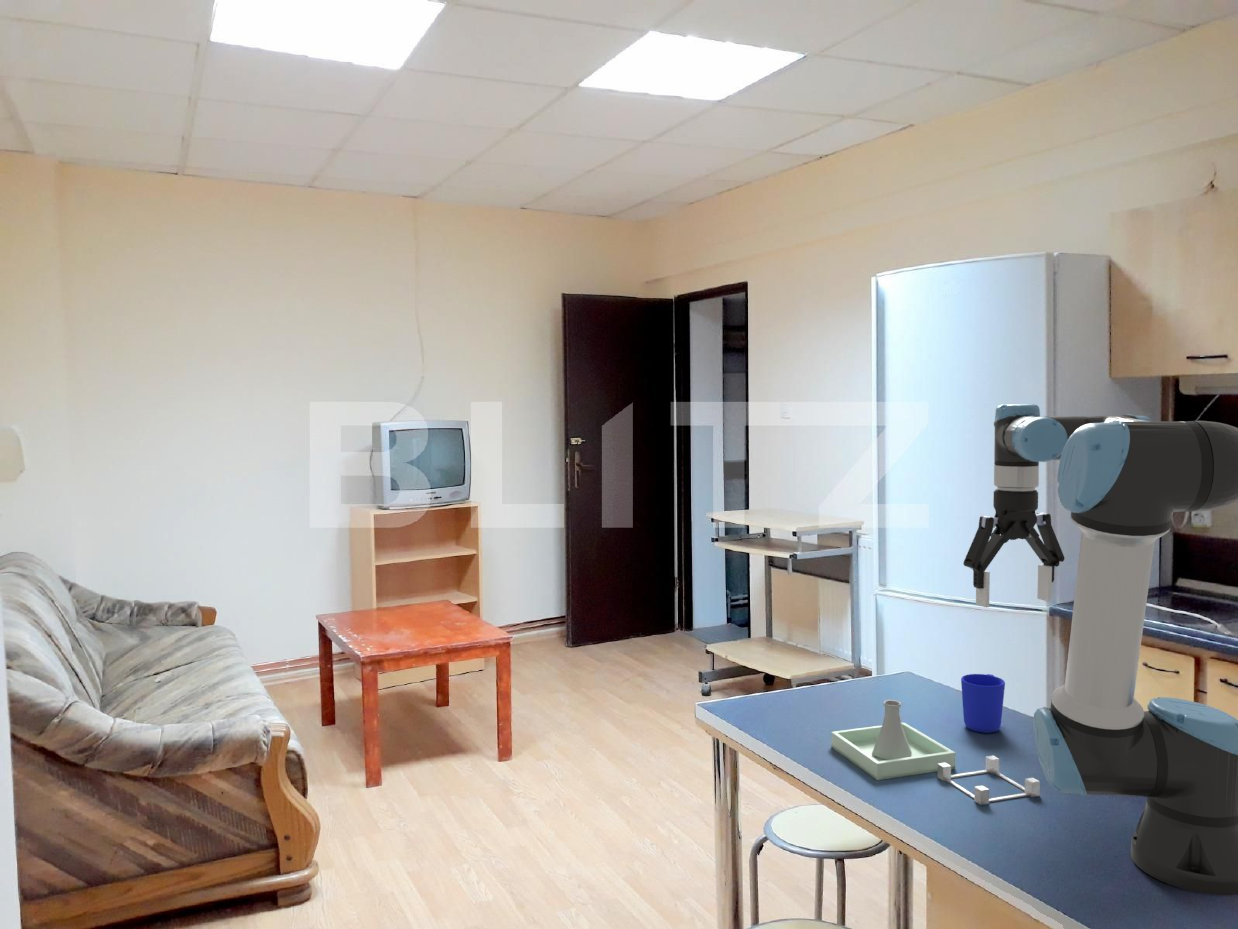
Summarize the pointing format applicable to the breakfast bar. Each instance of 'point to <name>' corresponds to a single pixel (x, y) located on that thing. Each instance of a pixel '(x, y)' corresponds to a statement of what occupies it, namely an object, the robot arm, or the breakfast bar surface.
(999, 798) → the socket
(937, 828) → the breakfast bar surface
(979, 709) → the mug
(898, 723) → the flask
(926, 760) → the bin
